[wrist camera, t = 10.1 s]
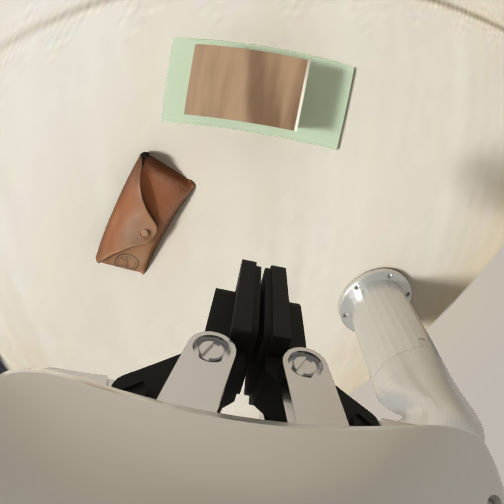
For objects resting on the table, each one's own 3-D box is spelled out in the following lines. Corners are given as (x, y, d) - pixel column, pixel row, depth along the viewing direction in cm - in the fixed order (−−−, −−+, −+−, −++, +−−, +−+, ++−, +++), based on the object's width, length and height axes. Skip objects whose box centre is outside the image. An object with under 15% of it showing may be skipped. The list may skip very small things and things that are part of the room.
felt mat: (353, 67, 31) (354, 67, 31) (336, 149, 36) (336, 149, 36) (175, 38, 30) (174, 38, 29) (162, 120, 35) (161, 121, 35)
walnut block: (310, 60, 27) (195, 43, 26) (296, 131, 30) (184, 114, 30) (304, 65, 31) (203, 50, 30) (291, 127, 35) (193, 112, 34)
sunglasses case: (145, 278, 46) (113, 289, 40) (121, 249, 48) (89, 255, 42) (199, 181, 39) (163, 179, 33) (167, 153, 40) (132, 149, 35)
